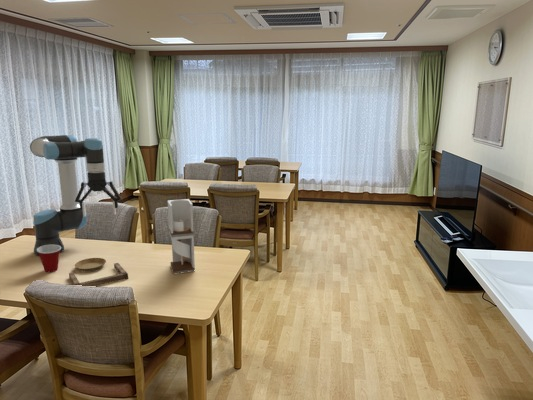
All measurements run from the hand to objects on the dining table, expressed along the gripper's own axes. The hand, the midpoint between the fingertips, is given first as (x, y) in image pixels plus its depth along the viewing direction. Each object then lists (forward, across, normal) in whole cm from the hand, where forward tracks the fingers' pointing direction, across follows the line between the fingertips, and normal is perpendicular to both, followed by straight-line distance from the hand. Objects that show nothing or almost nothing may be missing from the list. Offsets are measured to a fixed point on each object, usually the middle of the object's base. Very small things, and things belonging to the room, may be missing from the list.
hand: (100, 215), depth 188 cm
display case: (+30, +38, -3) cm, 48 cm away
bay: (+29, -2, -8) cm, 30 cm away
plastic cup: (+30, -26, +8) cm, 41 cm away
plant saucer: (+30, -8, +8) cm, 32 cm away
